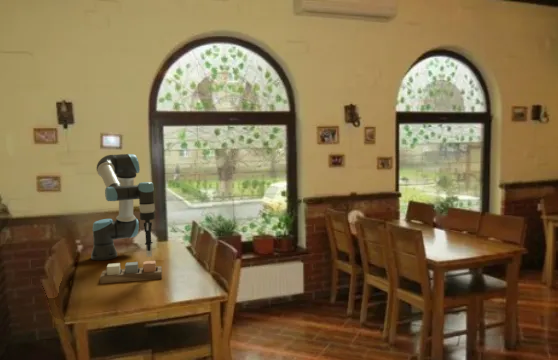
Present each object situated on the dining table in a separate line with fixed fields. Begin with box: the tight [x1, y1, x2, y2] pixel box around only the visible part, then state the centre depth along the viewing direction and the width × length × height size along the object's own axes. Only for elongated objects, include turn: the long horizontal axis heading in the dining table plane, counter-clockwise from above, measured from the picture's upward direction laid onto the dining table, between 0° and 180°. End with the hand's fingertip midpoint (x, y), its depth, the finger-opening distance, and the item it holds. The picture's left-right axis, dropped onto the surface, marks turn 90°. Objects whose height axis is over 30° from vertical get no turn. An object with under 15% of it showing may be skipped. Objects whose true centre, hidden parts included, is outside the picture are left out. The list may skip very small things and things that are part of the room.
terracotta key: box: [143, 260, 157, 272], centre depth 254 cm, size 6×6×4 cm
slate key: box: [124, 261, 139, 274], centre depth 252 cm, size 6×6×4 cm
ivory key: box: [106, 262, 122, 275], centre depth 250 cm, size 6×6×4 cm
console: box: [99, 265, 163, 285], centre depth 252 cm, size 12×30×4 cm, turn 103°
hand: (149, 256), depth 253 cm, fingers closed
